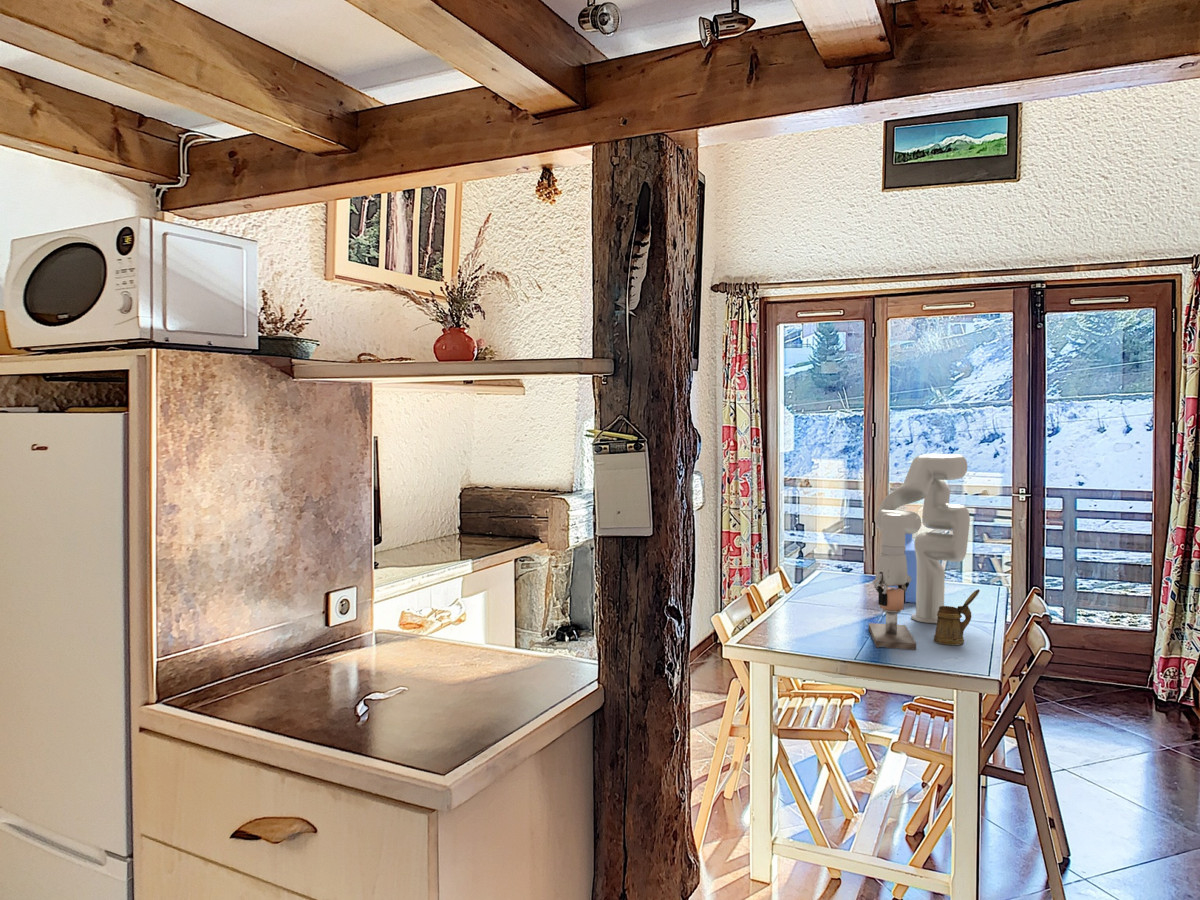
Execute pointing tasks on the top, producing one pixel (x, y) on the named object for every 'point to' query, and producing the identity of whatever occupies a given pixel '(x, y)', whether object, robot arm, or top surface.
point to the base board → (892, 637)
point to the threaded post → (891, 621)
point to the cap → (894, 599)
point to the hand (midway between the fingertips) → (891, 603)
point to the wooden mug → (953, 622)
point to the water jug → (910, 569)
